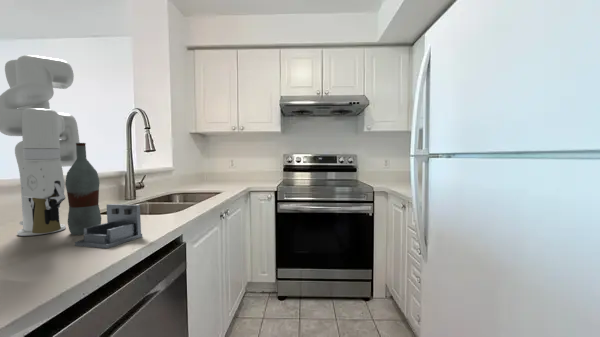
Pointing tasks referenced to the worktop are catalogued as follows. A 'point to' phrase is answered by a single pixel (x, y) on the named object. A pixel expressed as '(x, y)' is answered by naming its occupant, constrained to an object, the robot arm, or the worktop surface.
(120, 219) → the clip bracket
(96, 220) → the bottle
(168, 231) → the worktop surface
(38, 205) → the cork
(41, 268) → the worktop surface
